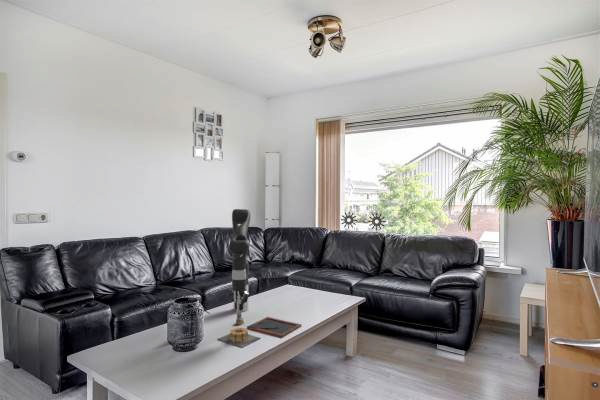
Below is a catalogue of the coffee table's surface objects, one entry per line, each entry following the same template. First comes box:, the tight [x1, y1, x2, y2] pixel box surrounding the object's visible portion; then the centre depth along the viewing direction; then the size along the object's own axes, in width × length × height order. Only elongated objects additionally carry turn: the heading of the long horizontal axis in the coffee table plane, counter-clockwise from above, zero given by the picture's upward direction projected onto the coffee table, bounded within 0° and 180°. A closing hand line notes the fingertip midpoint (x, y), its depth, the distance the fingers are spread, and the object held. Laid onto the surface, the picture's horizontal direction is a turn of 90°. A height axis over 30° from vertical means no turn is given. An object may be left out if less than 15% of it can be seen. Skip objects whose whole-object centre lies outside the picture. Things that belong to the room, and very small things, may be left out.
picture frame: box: [246, 316, 302, 339], centre depth 203 cm, size 20×2×25 cm
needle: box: [236, 296, 242, 319], centre depth 186 cm, size 2×2×12 cm
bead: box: [235, 317, 245, 326], centre depth 209 cm, size 4×4×3 cm
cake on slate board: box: [217, 327, 261, 349], centre depth 186 cm, size 18×14×4 cm
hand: (239, 309), depth 186 cm, fingers closed on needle, 2 cm apart
